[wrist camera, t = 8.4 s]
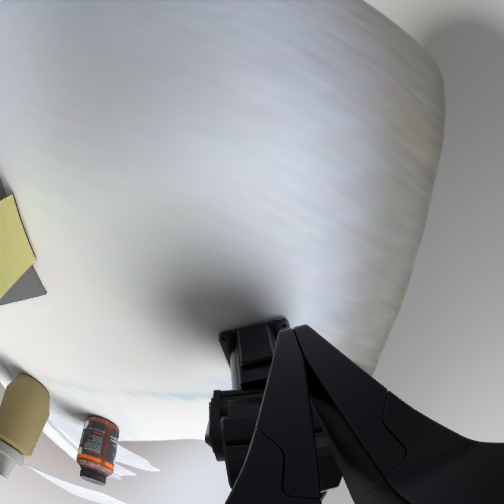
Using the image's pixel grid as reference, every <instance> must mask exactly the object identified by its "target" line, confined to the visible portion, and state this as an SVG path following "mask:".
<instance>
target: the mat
mask: <svg viewBox="0 0 504 504" xmlns="http://www.w3.org/2000/svg"><path fill="white" fill-rule="evenodd" d="M4 198H6V197H5V194H4V190H3V187H2V183H1V180H0V201H1V200H3V199H4ZM46 293H47V292H46V291H45V289H44V287H43V285H42V283H41V281H40V279H39V277H38V275H37V273H36V271H35V269H34V267H33V265H31V266H30V267H29V268H28V269H27V270H26V272H25V273H24V274H23V275H22V276H21V277H20V278H19V279H18V280H17V281H16V282H15V283H14V284H13V285H12V286H11V288H10V289H9V290H8V291H7V292H6V293H5V294H4V295H3V297H2V298H1V299H0V305H4V304H8V303H12V302H17V301H21V300H25V299H29V298H33V297H38V296H42V295H46Z"/></svg>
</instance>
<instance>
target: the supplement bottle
mask: <svg viewBox="0 0 504 504" xmlns="http://www.w3.org/2000/svg"><path fill="white" fill-rule="evenodd" d="M118 437H119V429H118V427H117V426H116V425H114V424H113V423H111V422H110V421H108V420H106V419H103V418H99V417H93V416H91V417H87V419H86V421H85V424H84V428H83V432H82V437H81V441H80V445H79V449H78V454H77V462H78V464H79V465H80V466H81V471H80V477H81V478H82V479H84V480H86V481H89V482H91V483H95V484H98V485H103V486H104V485H105V483H106V477H107V476H109V475H111V474H112V473H113V470H114V463H115V456H116V449H117V443H118Z"/></svg>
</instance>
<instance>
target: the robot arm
mask: <svg viewBox="0 0 504 504" xmlns="http://www.w3.org/2000/svg"><path fill="white" fill-rule="evenodd" d="M282 324H285V325H282ZM223 337H225V338H223ZM219 341H220V343H221V346H222V348H223V351H224V353H225V356H226V358H227V361H228V363H229V365H230V368H231V379H232V390H227V391H221V390H214V393H213V398H211V402H209V422H208V426H207V430H206V434H205V441H206V443H207V444H208V445H209V446H210V447H212V449H213V452H214V453H215V456H216V459H217V461H225V463H226V469H227V475H228V481H229V485H230V487H231V489H232V491H231V492H230V494H229V496H228V499H227V500H226V502H225V504H322V502H321V501H322V500H323V498H324V496H325V495H326V493H327V491H328V490H332V489H335V488H337V487H338V486H339V483H340V481H341V478H342V476H343V478H344V480H345V483H346V485H347V487H348V490H349V492H350V494H351V497H352V499H353V501H354V502H355V504H504V443H491V442H479V441H475V440H471V439H468V438H466V437H464V436H461V435H459V434H458V433H456V432H454V431H452V430H450V429H448V428H446V427H444V426H443V425H441V424H439V423H437V422H435V421H433V420H432V419H430V418H428V417H427V416H425V415H423V414H422V413H420V412H418V411H417V410H415V409H413V408H412V407H411V406H409V405H408V404H406V403H405V402H404V401H402V400H401V399H399V398H398V397H397V396H395V395H394V394H393V393H392V392H391V391H387V389H386V388H385V387H384V386H383V385H381V384H380V383H379V382H377V381H376V380H375V379H374V378H373V377H371V376H370V375H369V374H368V373H366V372H365V371H364V370H362V369H361V368H360V367H359V366H357V365H356V364H355V363H354V362H352V361H351V360H350V359H349V358H348V357H346V356H345V355H344V354H343V353H341V352H340V351H339V350H338V349H336V348H335V347H334V346H333V345H331V344H330V343H329V342H328V341H327V340H325V339H324V338H323V337H322V336H320V335H319V334H318V333H317V332H316V331H314V330H313V329H312V328H311V327H309V326H308V325H306V324H305V325H301V326H297V327H294V329H292V328H290V327H289V323H288V320H286V319H281V320H277V321H273V322H268V323H264V324H259V325H255V326H250V327H245V328H240V329H236V330H231V331H225V332H221V333H220V334H219Z"/></svg>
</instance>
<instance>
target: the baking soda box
mask: <svg viewBox="0 0 504 504" xmlns="http://www.w3.org/2000/svg"><path fill="white" fill-rule="evenodd" d="M35 261H36V259H35V257H34V254H33V252H32V249H31V247H30V245H29V242H28V239H27V237H26V234H25V231H24V229H23V226H22V223H21V220H20V217H19V214H18V211H17V208H16V205H15V201H14V198H13V194H12V195H10V196H8V197H6V198H4V199H3V200H1V201H0V299H1V298H2V297H3V295H4V294H5V293H6V292H7V291H8V290H9V289H10V288H11V286H12V285H13V284H14V283H15V282H16V281H17V280H18V279H19V278H20V277H21V276H22V275H23V274H24V273H25V272H26V270H27V269H28V268H29V267H30V266H31V265H32V264H33V263H34V262H35Z"/></svg>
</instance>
